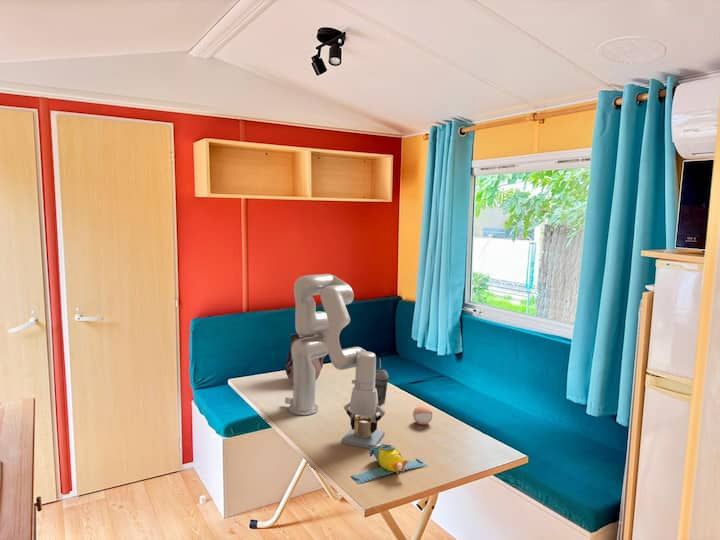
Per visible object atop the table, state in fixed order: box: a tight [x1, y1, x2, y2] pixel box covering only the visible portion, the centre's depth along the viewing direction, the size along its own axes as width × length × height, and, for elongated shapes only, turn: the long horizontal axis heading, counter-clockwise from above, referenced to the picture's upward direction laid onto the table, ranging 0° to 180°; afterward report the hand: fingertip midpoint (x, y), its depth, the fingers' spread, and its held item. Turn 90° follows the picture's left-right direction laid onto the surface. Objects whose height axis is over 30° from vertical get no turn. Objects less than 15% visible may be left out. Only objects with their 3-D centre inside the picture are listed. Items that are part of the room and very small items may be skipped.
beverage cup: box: [375, 358, 390, 405], centre depth 228 cm, size 7×7×20 cm
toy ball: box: [412, 404, 433, 426], centre depth 206 cm, size 8×8×8 cm
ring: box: [353, 415, 373, 436], centre depth 190 cm, size 7×7×5 cm
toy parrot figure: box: [349, 442, 429, 485], centre depth 168 cm, size 28×9×15 cm
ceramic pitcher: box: [285, 333, 326, 383], centre depth 251 cm, size 18×21×25 cm
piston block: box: [341, 420, 385, 450], centre depth 190 cm, size 13×13×6 cm
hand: (363, 429), depth 190 cm, fingers closed on ring, 7 cm apart
